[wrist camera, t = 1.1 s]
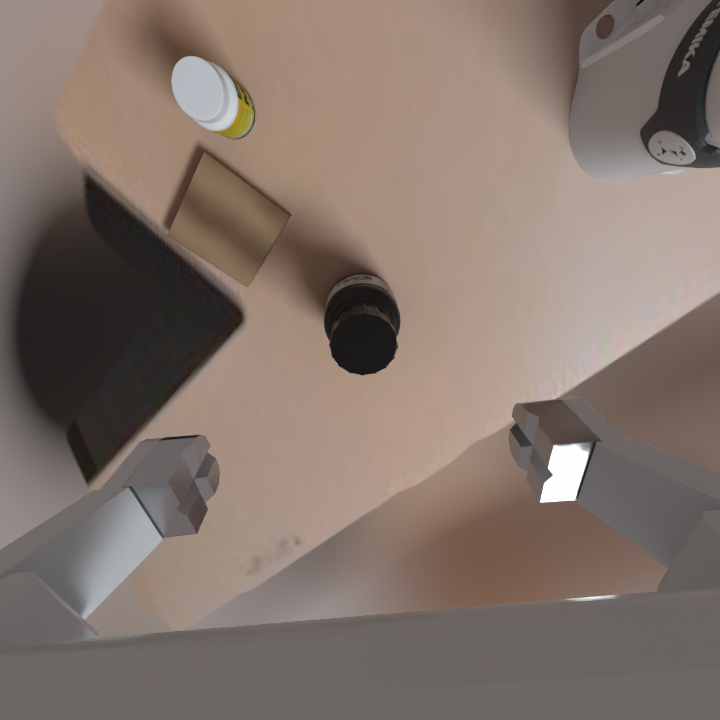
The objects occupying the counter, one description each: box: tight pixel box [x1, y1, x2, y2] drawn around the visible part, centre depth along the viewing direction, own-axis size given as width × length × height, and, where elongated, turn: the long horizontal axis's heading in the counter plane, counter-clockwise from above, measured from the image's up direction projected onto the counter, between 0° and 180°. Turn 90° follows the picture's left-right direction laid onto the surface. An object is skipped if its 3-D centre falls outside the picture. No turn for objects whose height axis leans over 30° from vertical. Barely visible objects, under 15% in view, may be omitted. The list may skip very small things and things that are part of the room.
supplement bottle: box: [171, 56, 256, 140], centre depth 29 cm, size 5×5×8 cm
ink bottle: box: [324, 274, 400, 375], centre depth 37 cm, size 10×9×12 cm
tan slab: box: [167, 152, 291, 287], centre depth 37 cm, size 10×10×2 cm
